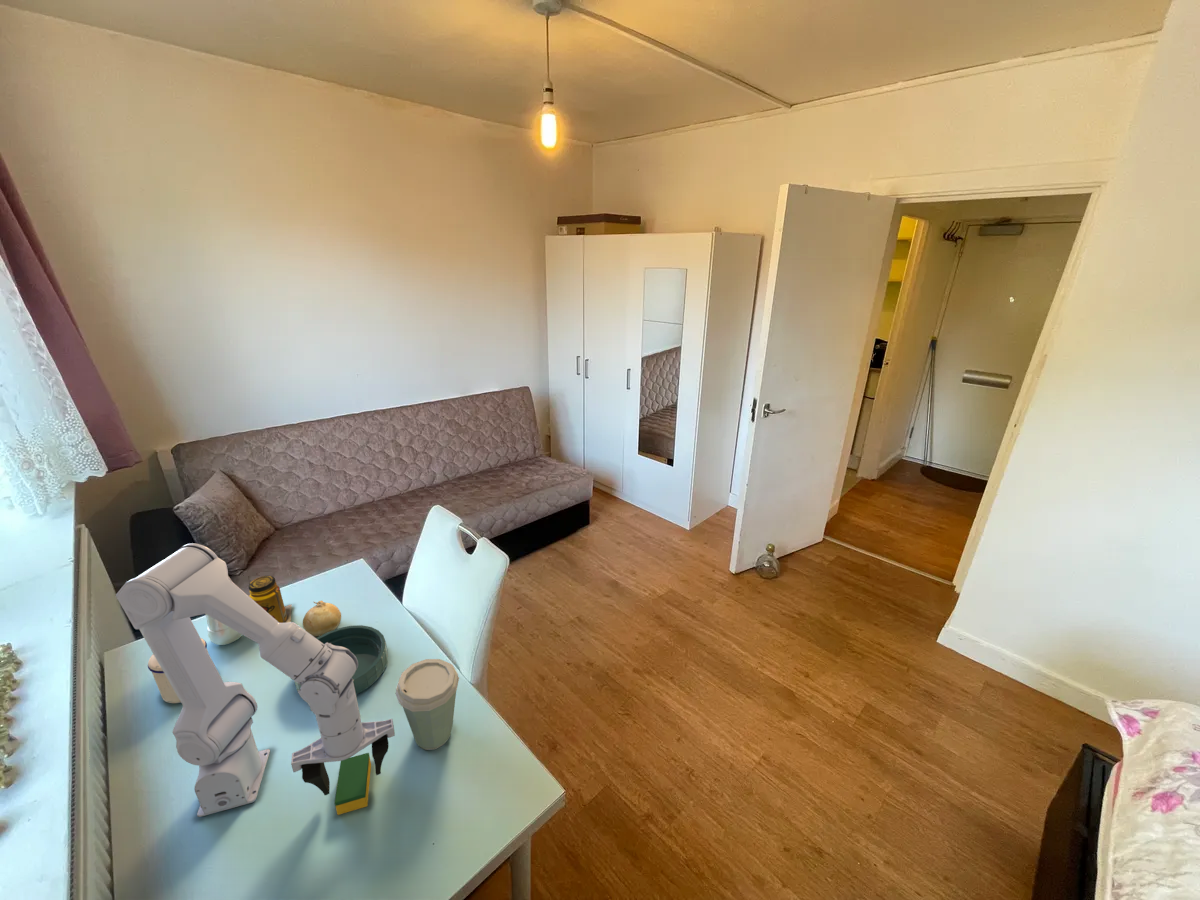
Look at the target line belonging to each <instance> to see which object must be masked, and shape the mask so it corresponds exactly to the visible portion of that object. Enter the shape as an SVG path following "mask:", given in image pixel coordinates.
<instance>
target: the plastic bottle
mask: <svg viewBox="0 0 1200 900" xmlns="http://www.w3.org/2000/svg"><path fill="white" fill-rule="evenodd" d="M228 577H229V579H230V580H231V581H232V582H233V580H232V578H230V576H229V575H228ZM204 615H205V619H206V623H207V637H208V639H209V641H210V642H211V643H212V644H213V645H217V646H225V645H229V644H231V643H233V642H236V641H237V640H239V639H240V638H241V637H242V636H243V635H242V634H240V633H239V632H237V631H235V630H233V629H232V628H230V627H228V626H226V625H225V624H223V623H221V622H219V621H218V620H216V619H214V618H212V617H211V616H209V615H207V614H204Z"/></svg>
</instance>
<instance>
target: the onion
mask: <svg viewBox="0 0 1200 900" xmlns="http://www.w3.org/2000/svg"><path fill="white" fill-rule="evenodd" d="M313 604H314V605H313V607H311V608H310V609H309V610H308V611H306V613H305V614H304V616H303V619H302V628H303V629H304V630H305V631H307V632H308V633H309V634H311V635H312V636H314V637H315V638H317V637H319V636H321V635H323V634H325V633H327V632H329V631H332V630H335V629H338V628H339V626H340V624H341V621H342V612H341V610H340V609H339V608H338V606H336V605H335V604H333V603H331V602H324V600H318V601H317V602H316V601H313ZM315 604H316V605H315Z"/></svg>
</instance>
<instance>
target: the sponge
mask: <svg viewBox="0 0 1200 900" xmlns="http://www.w3.org/2000/svg"><path fill="white" fill-rule="evenodd" d="M371 772H372V762H371V757H370V753H369V752H366V753H362V754H357V755H353V756H351V757H350V758H348V759H345V760H342V761H340V763H339V769H338V777H337V783H336V789H335V798H334V807H335V811H336V814H337V816H340V815H343V814H346V813H348V812H353V811H357V810H360V809H363V808H366V807H368V804H369V793H370V784H371V783H370V781H371Z"/></svg>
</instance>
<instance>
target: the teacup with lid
mask: <svg viewBox="0 0 1200 900" xmlns="http://www.w3.org/2000/svg"><path fill="white" fill-rule="evenodd" d="M200 638H201V640H202V642H203V644H204V646H205V648H206V650H207V652H208V653H209V651H208V644H207V641H206V640H205V639H203V638H202V637H200ZM147 668H148V671H150V672H151V674H152V676H153V679H154V681H155V683H156V687H157V688H158V692H159V693H160V695H161V698H162V700H163V701H164V702H166V703H168V704H179V703H181V701H180V700H179V698H178V696H177V694H176V693H175V691H174V689H173V687H172V686H171V684H170V682H169V680H168V679H167V677H166V675H165V673H164V672H163V670H162V668H161V666H160V665H159V663H158V661H157V659H156V658H155V656H154V654H153V653H152V654H151V656H150V657H149V659H148V662H147Z"/></svg>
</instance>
